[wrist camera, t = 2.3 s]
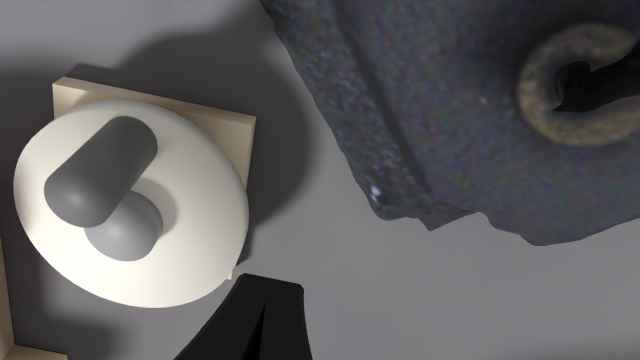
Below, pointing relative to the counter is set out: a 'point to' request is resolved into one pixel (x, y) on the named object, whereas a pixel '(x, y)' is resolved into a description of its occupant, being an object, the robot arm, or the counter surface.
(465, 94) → the folded black cloth
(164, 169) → the wheel
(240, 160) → the wheel pedestal
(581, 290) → the counter surface
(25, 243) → the counter surface
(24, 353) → the eye post
